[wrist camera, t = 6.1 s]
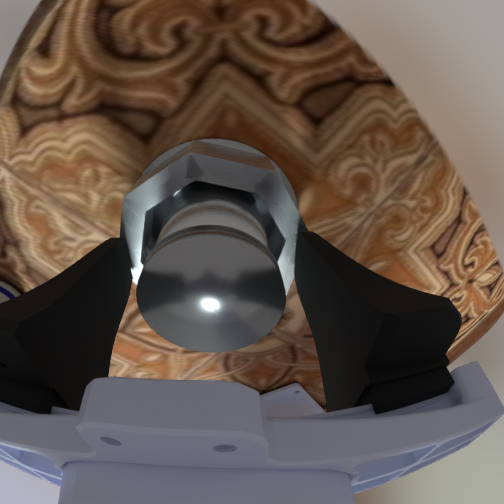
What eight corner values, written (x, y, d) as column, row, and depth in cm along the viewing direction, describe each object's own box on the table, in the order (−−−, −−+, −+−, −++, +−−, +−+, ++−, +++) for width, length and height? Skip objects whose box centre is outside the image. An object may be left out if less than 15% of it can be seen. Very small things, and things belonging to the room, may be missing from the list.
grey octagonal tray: (322, 246, 16) (337, 276, 14) (192, 310, 18) (189, 344, 15) (244, 103, 12) (249, 108, 9) (98, 200, 13) (77, 225, 11)
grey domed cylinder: (267, 174, 13) (296, 239, 8) (259, 261, 16) (276, 351, 11) (163, 172, 13) (125, 237, 8) (169, 260, 15) (148, 350, 10)
